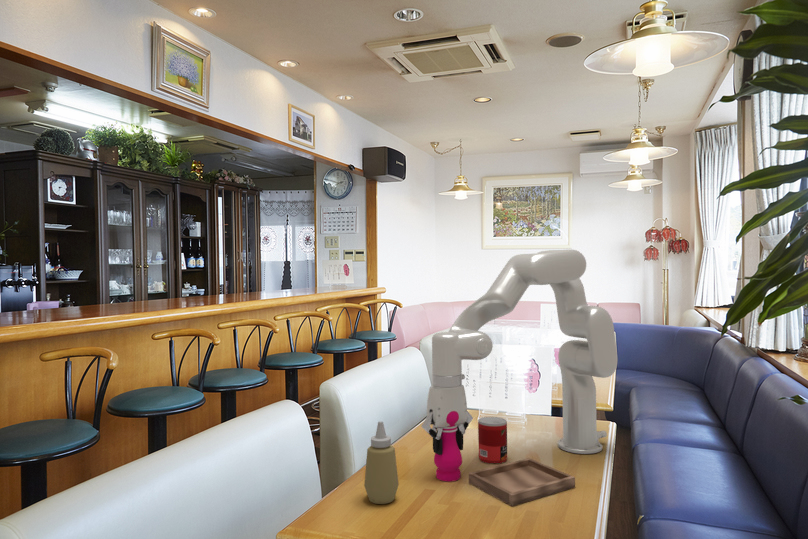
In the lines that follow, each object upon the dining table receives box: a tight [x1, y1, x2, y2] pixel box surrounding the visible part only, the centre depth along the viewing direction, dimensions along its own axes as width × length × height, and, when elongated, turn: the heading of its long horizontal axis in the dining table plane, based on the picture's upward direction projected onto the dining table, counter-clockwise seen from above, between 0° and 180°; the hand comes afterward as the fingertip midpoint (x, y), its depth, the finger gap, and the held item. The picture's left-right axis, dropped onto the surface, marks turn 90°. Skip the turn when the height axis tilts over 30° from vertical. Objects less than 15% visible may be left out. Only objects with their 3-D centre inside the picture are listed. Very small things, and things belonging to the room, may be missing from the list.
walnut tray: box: [468, 457, 576, 507], centre depth 135 cm, size 20×16×2 cm
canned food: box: [477, 416, 508, 465], centre depth 154 cm, size 8×8×11 cm
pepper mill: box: [433, 411, 463, 482], centre depth 141 cm, size 7×7×20 cm
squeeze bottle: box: [363, 421, 400, 505], centre depth 128 cm, size 8×8×18 cm
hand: (448, 450), depth 141 cm, fingers open, 5 cm apart
